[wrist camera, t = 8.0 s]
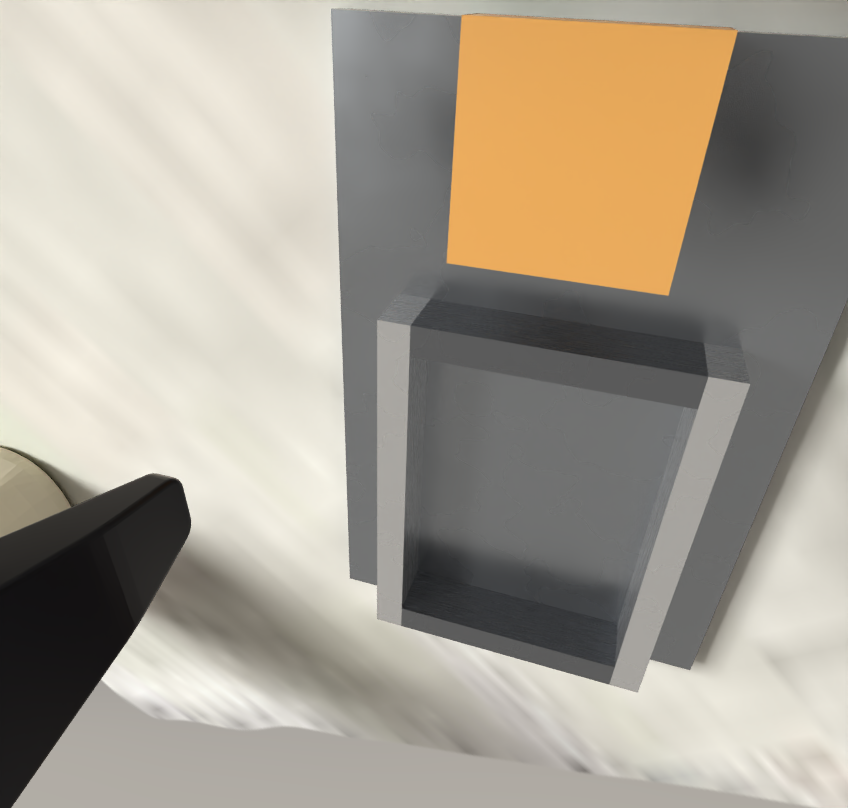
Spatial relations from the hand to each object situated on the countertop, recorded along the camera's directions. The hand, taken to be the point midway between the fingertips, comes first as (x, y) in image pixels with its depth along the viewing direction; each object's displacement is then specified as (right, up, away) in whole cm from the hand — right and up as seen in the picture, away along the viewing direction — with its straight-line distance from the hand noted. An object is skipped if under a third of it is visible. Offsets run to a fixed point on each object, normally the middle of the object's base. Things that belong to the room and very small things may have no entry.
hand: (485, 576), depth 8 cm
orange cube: (+3, +8, +6) cm, 11 cm away
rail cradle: (+3, +2, +13) cm, 14 cm away
